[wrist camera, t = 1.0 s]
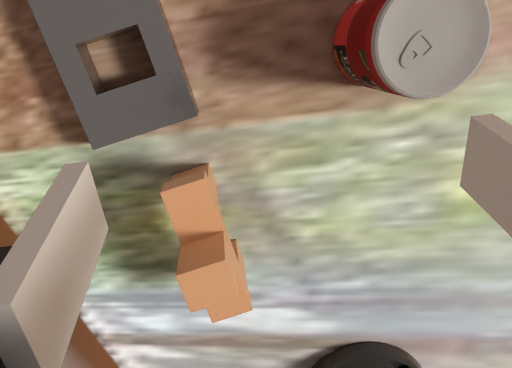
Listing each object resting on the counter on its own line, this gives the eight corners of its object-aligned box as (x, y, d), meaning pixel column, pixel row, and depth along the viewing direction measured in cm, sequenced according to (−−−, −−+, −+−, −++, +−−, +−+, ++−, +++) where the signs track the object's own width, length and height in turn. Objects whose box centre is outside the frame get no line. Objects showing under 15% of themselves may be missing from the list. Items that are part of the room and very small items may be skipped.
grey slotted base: (198, 110, 39) (197, 115, 36) (101, 142, 39) (92, 150, 36) (108, -146, 33) (98, -165, 30) (-7, -108, 33) (-27, -123, 30)
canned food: (314, 61, 39) (351, 65, 28) (361, -26, 37) (420, -56, 27) (385, 102, 41) (446, 120, 30) (434, 20, 39) (516, 9, 28)
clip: (246, 267, 44) (258, 348, 32) (212, 278, 44) (212, 363, 32) (205, 155, 40) (202, 199, 28) (169, 167, 40) (150, 216, 28)
